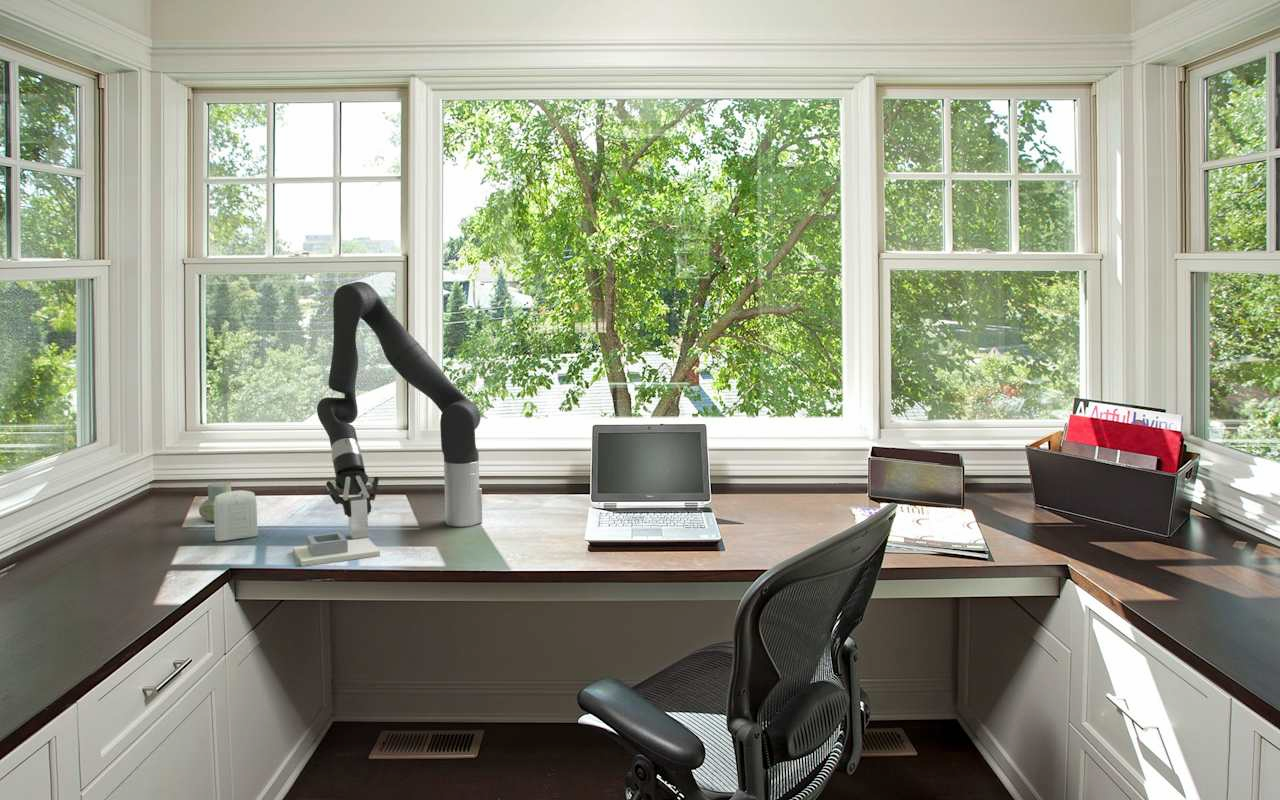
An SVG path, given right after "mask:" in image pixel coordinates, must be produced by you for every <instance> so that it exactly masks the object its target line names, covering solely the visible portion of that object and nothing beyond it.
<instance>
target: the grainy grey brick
mask: <svg viewBox="0 0 1280 800" xmlns="http://www.w3.org/2000/svg"><path fill="white" fill-rule="evenodd" d="M348 501H349V504H350V509H351V516H350V517H348V533H349V534H348V535H349V537H350V538H351V540H354V539H363V538H369V519H368V515H367V499H366V498H365V497H364V496H360V495H358V496H348Z"/></svg>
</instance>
